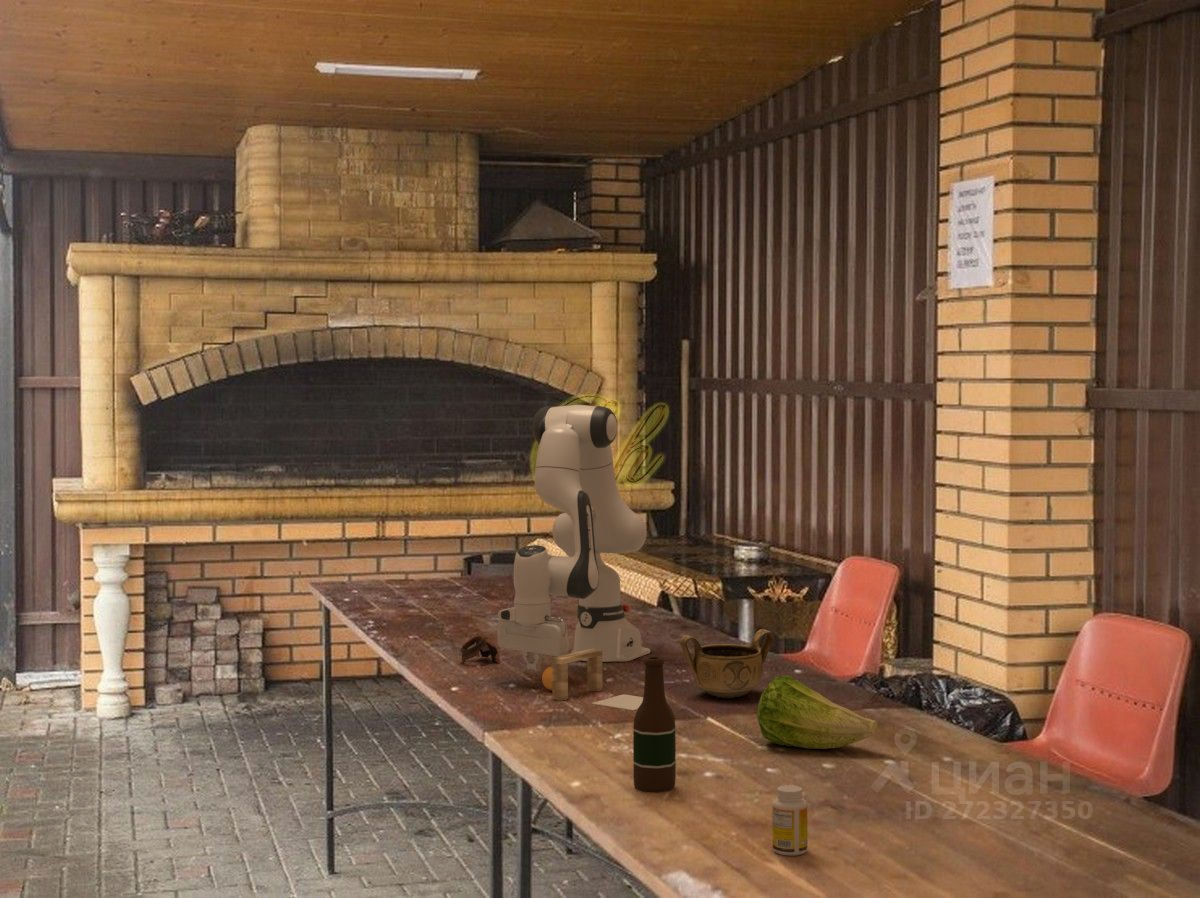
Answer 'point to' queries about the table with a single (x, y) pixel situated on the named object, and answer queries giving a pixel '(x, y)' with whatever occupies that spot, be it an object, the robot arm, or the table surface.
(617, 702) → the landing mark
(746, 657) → the ceramic bowl
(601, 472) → the robot arm
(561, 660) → the bridge
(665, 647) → the table surface
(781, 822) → the supplement bottle
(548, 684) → the ball
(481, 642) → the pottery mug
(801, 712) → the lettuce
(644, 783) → the beer bottle
